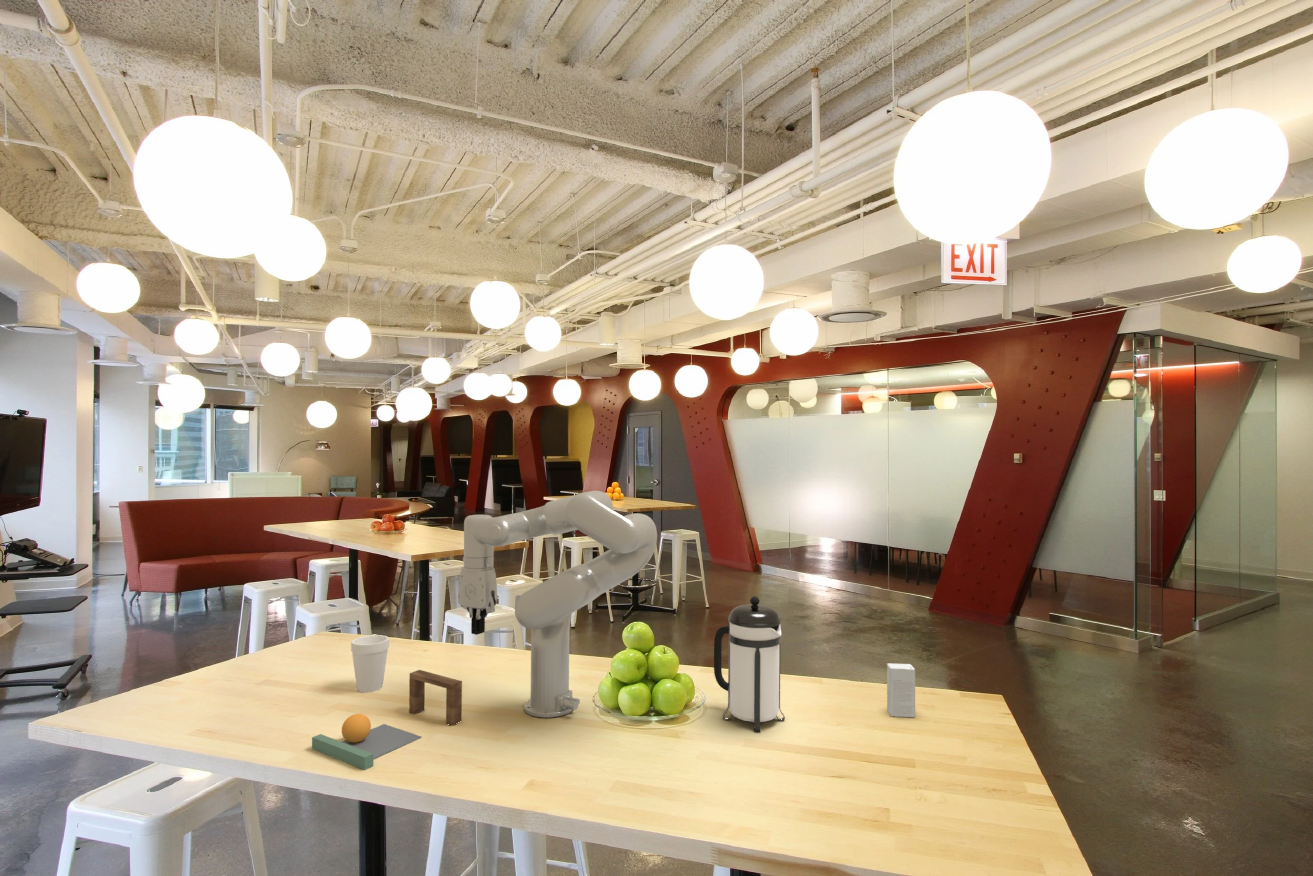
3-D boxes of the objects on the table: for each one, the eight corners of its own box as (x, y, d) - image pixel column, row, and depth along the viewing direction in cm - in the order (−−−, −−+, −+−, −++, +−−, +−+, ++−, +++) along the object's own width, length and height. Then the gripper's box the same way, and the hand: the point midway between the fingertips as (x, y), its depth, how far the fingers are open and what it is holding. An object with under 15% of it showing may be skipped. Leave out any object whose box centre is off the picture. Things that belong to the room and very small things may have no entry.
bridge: (419, 708, 173) (419, 669, 173) (461, 721, 166) (462, 681, 166) (409, 712, 171) (409, 673, 171) (451, 726, 163) (452, 684, 163)
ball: (362, 751, 153) (381, 727, 156) (347, 738, 149) (367, 713, 153) (345, 742, 156) (364, 719, 159) (330, 729, 152) (350, 705, 156)
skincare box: (910, 711, 174) (911, 663, 174) (915, 718, 170) (915, 669, 170) (886, 710, 175) (886, 662, 175) (890, 716, 171) (890, 668, 171)
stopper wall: (373, 766, 143) (373, 754, 143) (364, 770, 141) (364, 757, 141) (320, 745, 152) (320, 734, 152) (311, 748, 150) (312, 737, 150)
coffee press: (781, 707, 176) (782, 589, 176) (787, 734, 160) (788, 604, 160) (713, 704, 178) (714, 587, 178) (712, 730, 162) (713, 602, 162)
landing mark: (421, 737, 157) (421, 736, 157) (371, 760, 145) (371, 759, 145) (384, 724, 163) (384, 724, 163) (333, 745, 152) (333, 744, 152)
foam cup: (362, 697, 180) (363, 647, 180) (344, 689, 186) (344, 640, 186) (395, 687, 188) (396, 639, 188) (376, 679, 194) (377, 633, 194)
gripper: (447, 562, 181) (446, 632, 181) (489, 568, 173) (488, 641, 173) (468, 557, 187) (468, 625, 187) (510, 563, 179) (509, 634, 179)
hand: (478, 633), depth 180 cm, fingers closed
